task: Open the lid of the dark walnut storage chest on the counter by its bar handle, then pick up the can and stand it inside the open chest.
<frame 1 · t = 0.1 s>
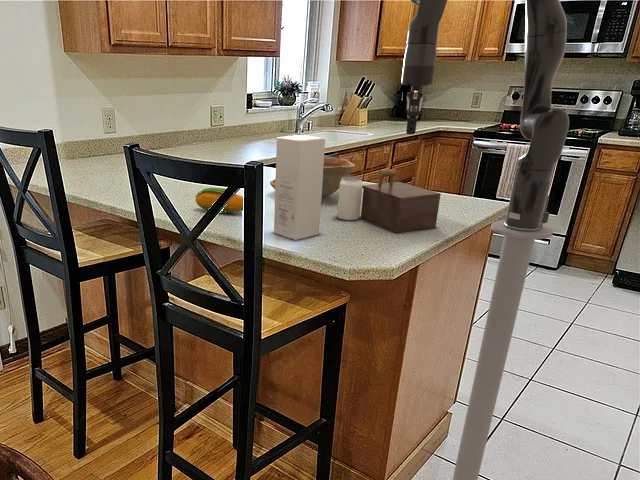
hand: (410, 132, 137), 26 cm above the breakfast bar, tool pointing down, fingers open, 8 cm apart
tall white carton: (296, 234, 142), on the breakfast bar
can: (348, 218, 156), on the breakfast bar
chest lid: (400, 182, 147), point 11 cm above the breakfast bar, hinge at 0.0°
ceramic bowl: (311, 196, 183), on the breakfast bar
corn: (225, 212, 163), on the breakfast bar
chest: (396, 222, 152), on the breakfast bar
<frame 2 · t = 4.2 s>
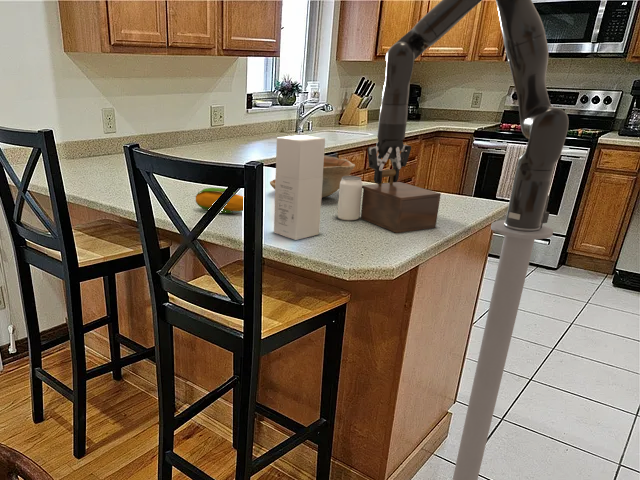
hand: (385, 182, 153), 10 cm above the breakfast bar, tool pointing down, fingers closed on chest lid, 5 cm apart
chest lid: (400, 182, 147), point 11 cm above the breakfast bar, hinge at -0.1°, touching gripper
everything else where it was.
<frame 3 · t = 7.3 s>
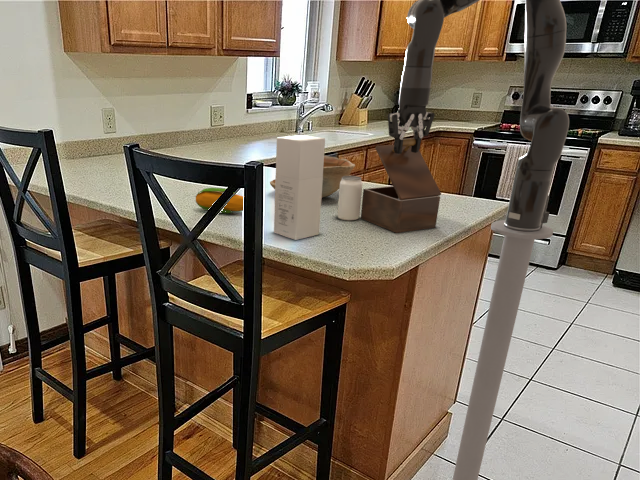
hand: (406, 152, 143), 20 cm above the breakfast bar, tool pointing down, fingers closed on chest lid, 5 cm apart
chest lid: (412, 165, 142), point 17 cm above the breakfast bar, hinge at 42.9°, touching gripper
everything else where it was.
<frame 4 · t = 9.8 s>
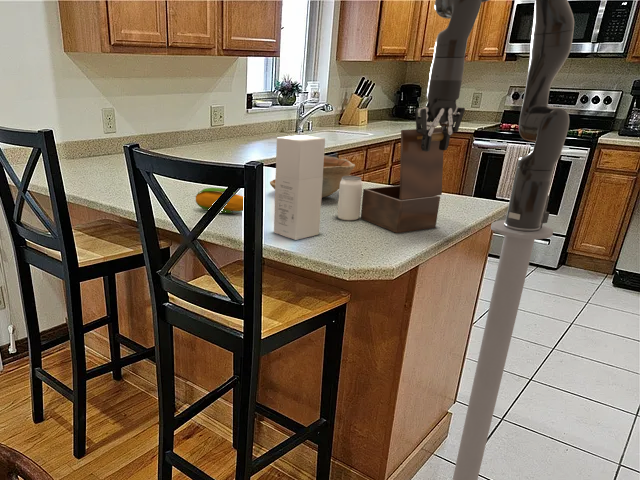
hand: (434, 150, 134), 22 cm above the breakfast bar, tool pointing down, fingers closed on chest lid, 5 cm apart
chest lid: (427, 163, 137), point 18 cm above the breakfast bar, hinge at 80.9°, touching gripper
everything else where it was.
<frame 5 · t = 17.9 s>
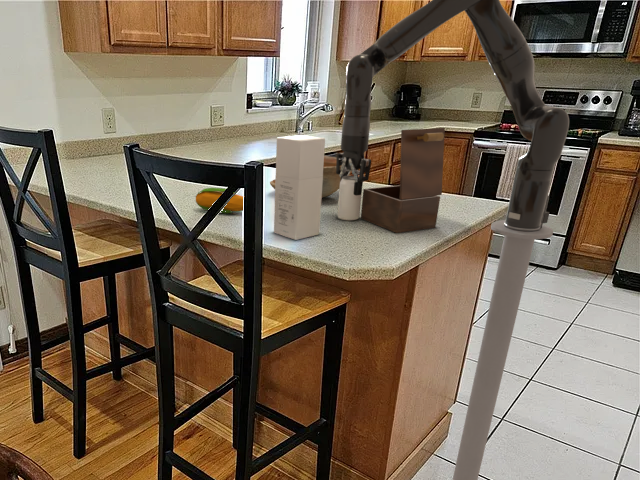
hand: (350, 192, 153), 8 cm above the breakfast bar, tool pointing down, fingers closed on can, 6 cm apart
can: (348, 218, 156), on the breakfast bar, touching gripper
chest lid: (428, 163, 136), point 18 cm above the breakfast bar, hinge at 81.3°
everything else where it was.
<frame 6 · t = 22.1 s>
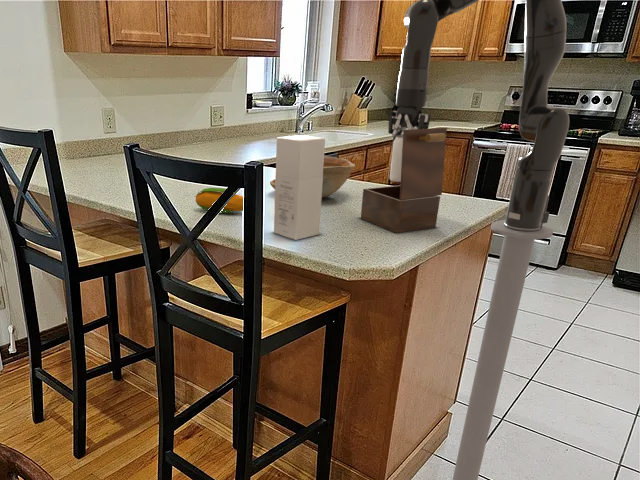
hand: (404, 152, 144), 20 cm above the breakfast bar, tool pointing down, fingers closed on can, 6 cm apart
can: (401, 181, 147), point 12 cm above the breakfast bar, touching gripper
chest lid: (429, 163, 136), point 18 cm above the breakfast bar, hinge at 83.8°
everything else where it was.
when the fingers open (9 cm above the breakfast bar, at t = 25.3 s): can stays where it is, resting on chest.
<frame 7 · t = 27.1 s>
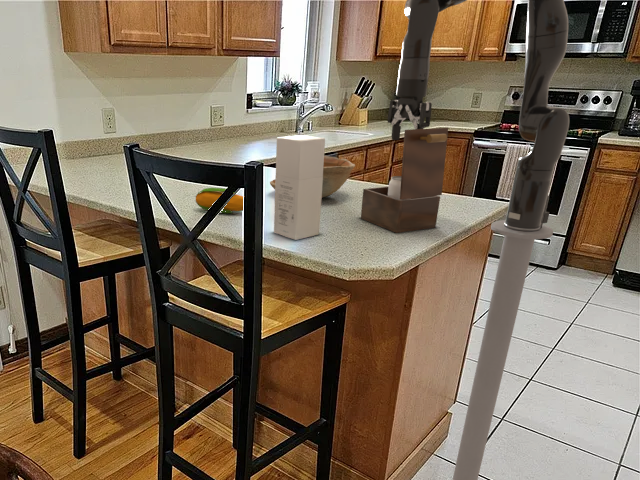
hand: (405, 141, 143), 23 cm above the breakfast bar, tool pointing down, fingers open, 8 cm apart
can: (396, 220, 152), point 1 cm above the breakfast bar, touching chest
chest lid: (429, 164, 136), point 18 cm above the breakfast bar, hinge at 85.5°
everything else where it was.
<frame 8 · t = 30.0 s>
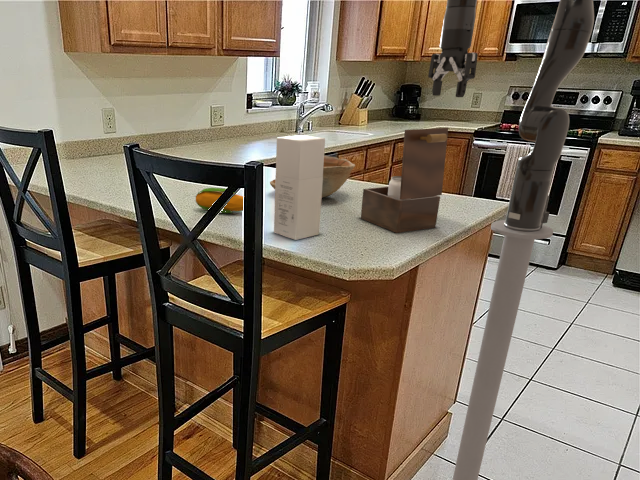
hand: (447, 96, 140), 34 cm above the breakfast bar, tool pointing down, fingers open, 8 cm apart
nothing on the breakfast bar moved.
at the end: chest lid at +86° (first picture: +0°); can inside the target area in the chest (0.4 cm from its centre), point 0.6 cm above the chest's base; can tilted 0° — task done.
